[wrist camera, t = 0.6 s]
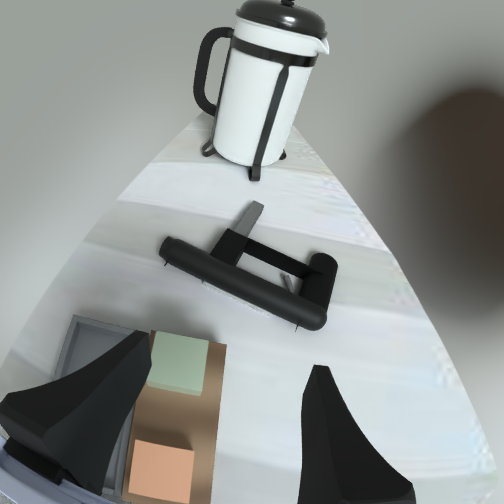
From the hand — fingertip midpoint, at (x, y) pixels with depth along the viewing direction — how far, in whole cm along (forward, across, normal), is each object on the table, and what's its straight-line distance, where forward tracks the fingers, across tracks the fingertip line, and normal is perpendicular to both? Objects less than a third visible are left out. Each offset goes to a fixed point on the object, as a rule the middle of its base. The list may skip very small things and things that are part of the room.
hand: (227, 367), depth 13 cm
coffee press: (+44, +8, -3) cm, 45 cm away
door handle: (+26, +1, +8) cm, 27 cm away
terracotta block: (0, +4, +14) cm, 15 cm away
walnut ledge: (+5, +5, +15) cm, 17 cm away
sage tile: (+9, +5, +10) cm, 14 cm away
